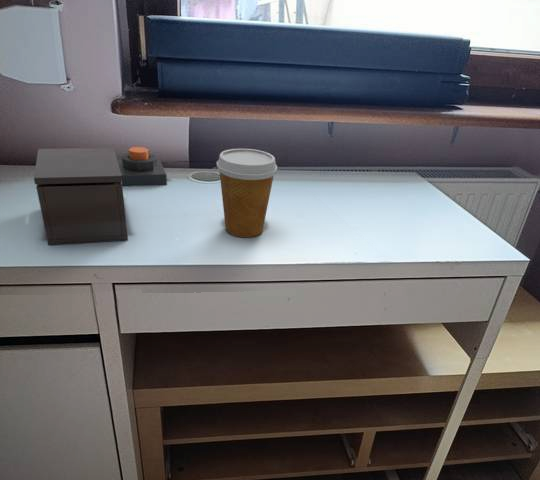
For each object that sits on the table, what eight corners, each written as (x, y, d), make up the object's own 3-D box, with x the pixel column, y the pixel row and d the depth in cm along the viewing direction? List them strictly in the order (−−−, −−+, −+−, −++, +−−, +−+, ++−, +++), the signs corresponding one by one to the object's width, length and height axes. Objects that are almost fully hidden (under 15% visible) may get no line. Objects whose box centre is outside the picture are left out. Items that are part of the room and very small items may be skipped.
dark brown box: (128, 240, 79) (122, 184, 73) (48, 245, 75) (36, 186, 70) (120, 205, 89) (114, 153, 84) (50, 208, 86) (39, 154, 81)
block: (115, 169, 104) (113, 149, 101) (159, 168, 106) (158, 149, 104) (119, 186, 96) (117, 165, 94) (167, 185, 99) (166, 164, 97)
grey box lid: (122, 182, 72) (121, 175, 72) (34, 184, 69) (33, 177, 69) (114, 153, 84) (113, 147, 83) (39, 154, 81) (38, 148, 80)
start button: (128, 156, 100) (128, 147, 99) (147, 156, 101) (146, 146, 100) (130, 161, 97) (129, 152, 96) (149, 161, 98) (149, 152, 97)
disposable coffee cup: (260, 216, 90) (265, 146, 83) (280, 239, 83) (287, 165, 76) (209, 220, 87) (209, 148, 80) (225, 244, 80) (226, 167, 73)
